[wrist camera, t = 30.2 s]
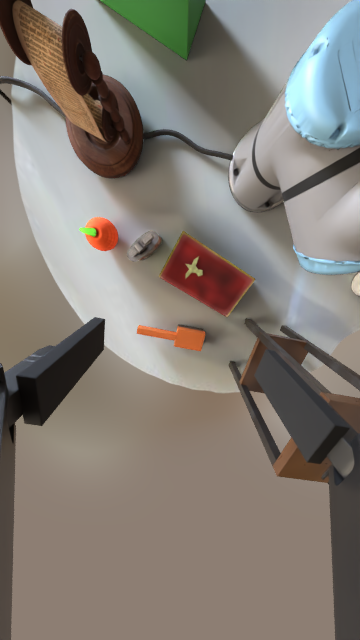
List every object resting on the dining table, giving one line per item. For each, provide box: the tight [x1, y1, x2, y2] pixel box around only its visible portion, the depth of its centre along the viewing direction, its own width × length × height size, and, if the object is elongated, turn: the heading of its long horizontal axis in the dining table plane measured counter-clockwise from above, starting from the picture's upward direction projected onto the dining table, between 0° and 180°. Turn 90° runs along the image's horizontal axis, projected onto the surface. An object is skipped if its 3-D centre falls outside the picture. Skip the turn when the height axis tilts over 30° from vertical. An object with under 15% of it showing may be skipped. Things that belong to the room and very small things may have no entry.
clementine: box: [79, 217, 118, 251], centre depth 39 cm, size 8×7×7 cm
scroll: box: [0, 0, 143, 178], centre depth 26 cm, size 15×15×20 cm
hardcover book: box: [159, 231, 255, 317], centre depth 43 cm, size 12×21×4 cm, turn 59°
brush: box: [137, 325, 206, 351], centre depth 49 cm, size 19×6×4 cm, turn 78°
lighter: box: [127, 230, 162, 261], centre depth 38 cm, size 8×3×10 cm, turn 128°
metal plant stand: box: [229, 318, 360, 483], centre depth 38 cm, size 13×17×32 cm
